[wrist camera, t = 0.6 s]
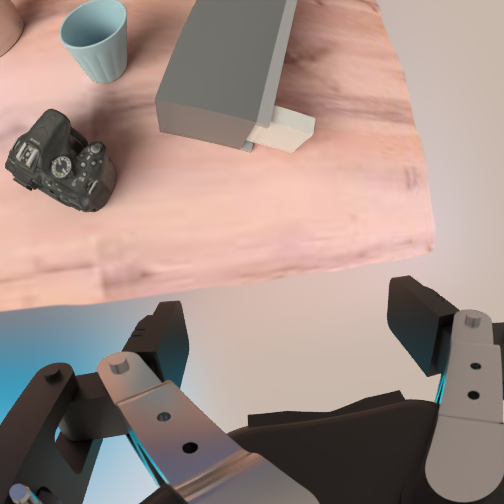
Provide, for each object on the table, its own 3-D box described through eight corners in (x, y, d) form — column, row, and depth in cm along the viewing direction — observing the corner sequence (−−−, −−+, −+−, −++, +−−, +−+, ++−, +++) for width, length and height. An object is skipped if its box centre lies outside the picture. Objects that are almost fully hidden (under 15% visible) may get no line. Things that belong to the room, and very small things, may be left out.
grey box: (160, 131, 36) (154, 95, 26) (216, -14, 37) (225, -56, 27) (250, 152, 38) (271, 123, 29) (285, 4, 39) (306, -35, 30)
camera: (126, 136, 35) (110, 101, 25) (113, 217, 35) (89, 206, 25) (33, 133, 32) (-1, 104, 23) (18, 209, 32) (-23, 198, 23)
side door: (245, 140, 37) (259, 118, 30) (263, 68, 38) (277, 39, 31) (291, 153, 38) (313, 134, 32) (304, 81, 39) (325, 55, 32)
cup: (141, 79, 35) (132, 32, 25) (85, 99, 34) (61, 58, 24) (130, 39, 35) (121, -10, 25) (78, 57, 33) (57, 14, 23)
